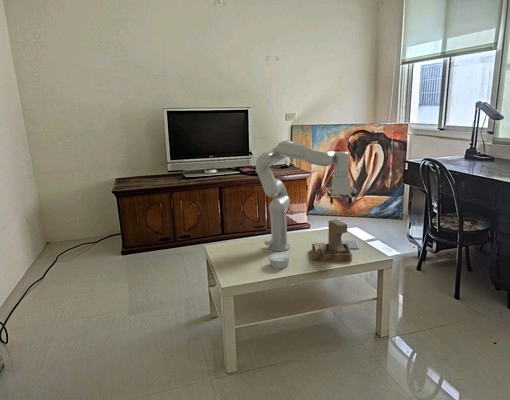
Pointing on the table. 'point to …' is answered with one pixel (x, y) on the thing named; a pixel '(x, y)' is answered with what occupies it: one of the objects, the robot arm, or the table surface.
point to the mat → (351, 244)
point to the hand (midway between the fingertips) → (340, 204)
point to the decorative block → (336, 237)
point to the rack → (332, 255)
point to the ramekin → (279, 260)
